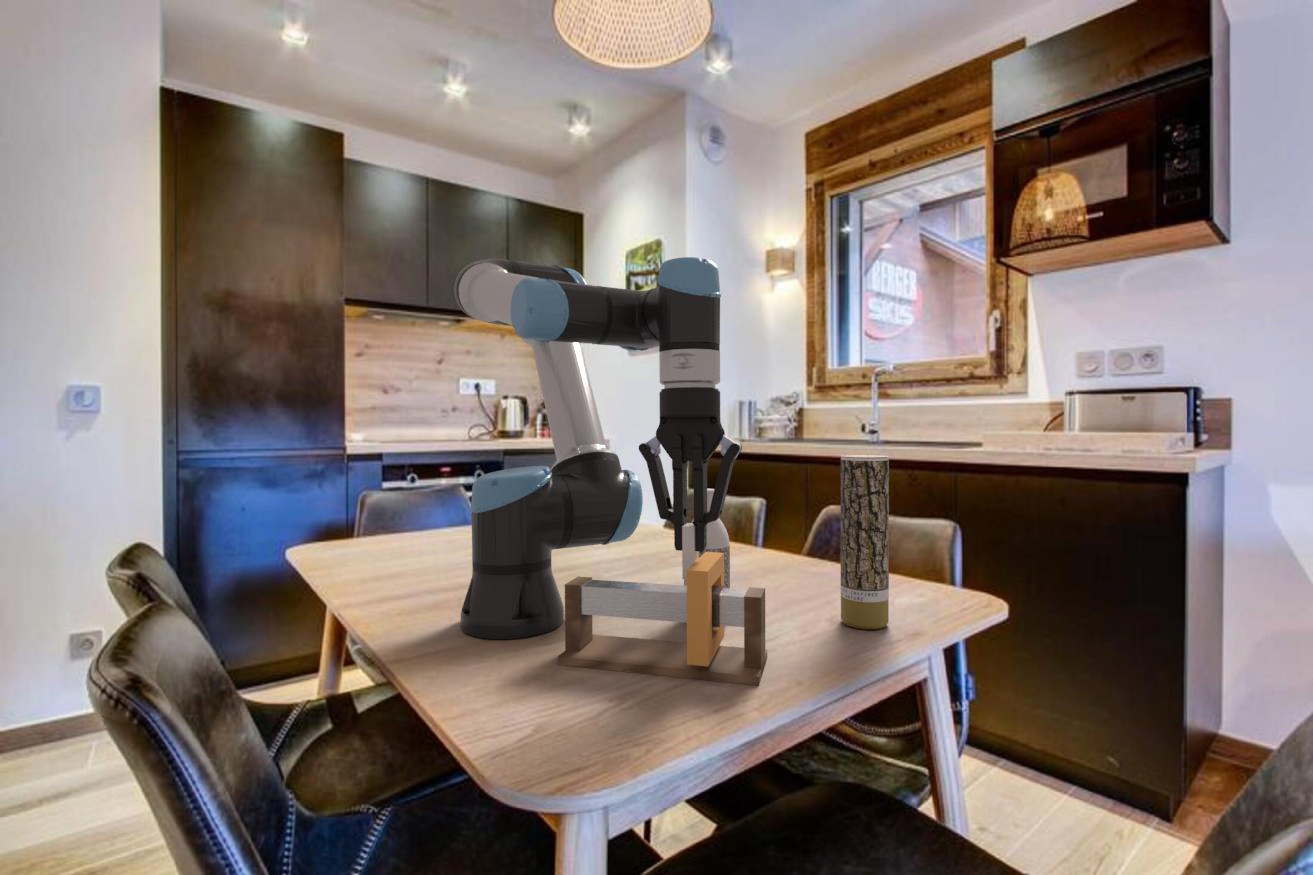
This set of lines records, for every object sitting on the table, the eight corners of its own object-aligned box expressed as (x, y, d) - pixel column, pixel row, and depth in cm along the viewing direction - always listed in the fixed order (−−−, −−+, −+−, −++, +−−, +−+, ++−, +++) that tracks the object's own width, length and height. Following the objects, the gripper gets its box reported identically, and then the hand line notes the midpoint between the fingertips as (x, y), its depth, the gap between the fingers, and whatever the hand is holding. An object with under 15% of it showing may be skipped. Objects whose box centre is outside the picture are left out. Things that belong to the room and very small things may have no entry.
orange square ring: (687, 664, 75) (686, 570, 74) (705, 634, 85) (705, 551, 85) (708, 666, 74) (707, 571, 74) (724, 635, 84) (724, 552, 84)
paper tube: (892, 632, 91) (892, 457, 91) (842, 629, 93) (842, 457, 92) (884, 618, 98) (885, 455, 98) (838, 615, 99) (838, 455, 99)
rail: (576, 615, 82) (576, 584, 82) (588, 607, 86) (587, 577, 86) (748, 629, 76) (748, 596, 76) (752, 619, 80) (752, 587, 80)
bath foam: (739, 623, 96) (738, 490, 96) (698, 629, 93) (697, 492, 93) (715, 611, 102) (714, 486, 102) (676, 617, 99) (675, 488, 99)
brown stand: (557, 664, 80) (557, 588, 80) (585, 640, 89) (584, 572, 89) (759, 685, 73) (758, 602, 73) (767, 657, 82) (767, 583, 82)
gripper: (630, 386, 77) (631, 580, 78) (737, 384, 74) (738, 587, 74) (647, 389, 85) (649, 567, 85) (746, 387, 81) (747, 573, 82)
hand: (690, 576), depth 80 cm, fingers closed
